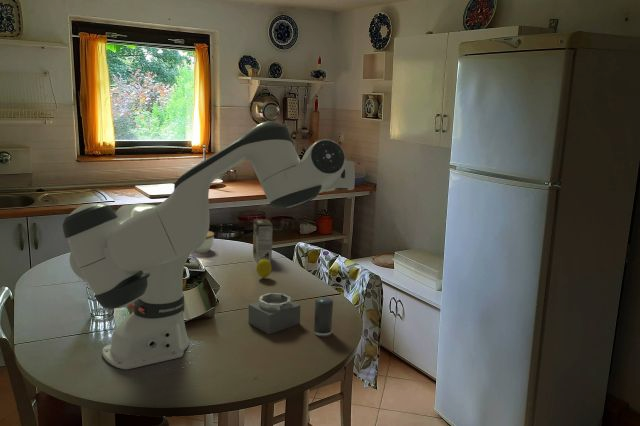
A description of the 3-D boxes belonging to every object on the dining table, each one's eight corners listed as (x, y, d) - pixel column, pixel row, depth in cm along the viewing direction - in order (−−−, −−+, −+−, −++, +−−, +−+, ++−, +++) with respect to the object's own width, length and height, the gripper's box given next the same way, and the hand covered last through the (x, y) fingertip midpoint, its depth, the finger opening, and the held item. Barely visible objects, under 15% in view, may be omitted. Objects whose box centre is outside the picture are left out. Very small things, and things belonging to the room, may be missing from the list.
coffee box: (252, 256, 234) (252, 218, 230) (267, 255, 236) (268, 218, 232) (256, 263, 225) (257, 224, 221) (271, 262, 227) (273, 223, 223)
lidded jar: (196, 256, 230) (196, 234, 228) (183, 249, 238) (183, 228, 236) (218, 252, 237) (218, 230, 235) (206, 246, 245) (206, 225, 243)
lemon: (257, 281, 204) (258, 260, 202) (255, 276, 209) (255, 256, 208) (272, 280, 206) (273, 260, 204) (269, 275, 211) (270, 255, 209)
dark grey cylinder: (322, 338, 161) (324, 305, 159) (309, 332, 165) (311, 299, 162) (335, 333, 165) (337, 300, 162) (322, 327, 168) (324, 295, 166)
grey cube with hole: (269, 334, 162) (269, 308, 160) (248, 322, 169) (248, 298, 167) (299, 323, 170) (300, 299, 168) (278, 313, 177) (279, 289, 175)
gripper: (269, 183, 123) (266, 194, 137) (360, 189, 126) (347, 199, 140) (271, 155, 124) (267, 169, 138) (360, 162, 127) (348, 174, 141)
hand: (308, 184), depth 139 cm, fingers open, 8 cm apart
